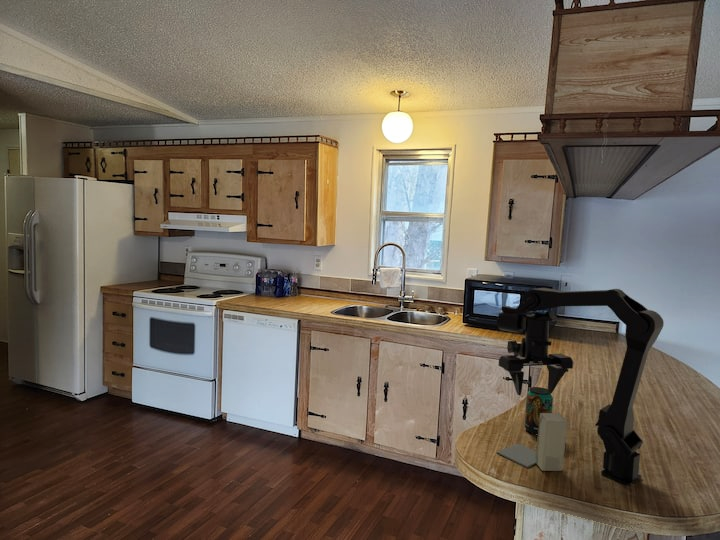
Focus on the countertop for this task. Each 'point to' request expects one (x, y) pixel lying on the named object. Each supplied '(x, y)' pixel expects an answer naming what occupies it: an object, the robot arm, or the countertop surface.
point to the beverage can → (537, 407)
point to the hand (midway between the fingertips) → (534, 394)
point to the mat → (519, 455)
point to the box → (551, 441)
